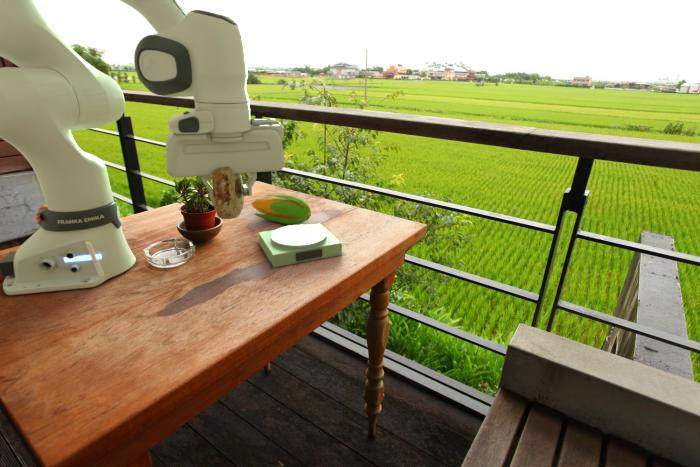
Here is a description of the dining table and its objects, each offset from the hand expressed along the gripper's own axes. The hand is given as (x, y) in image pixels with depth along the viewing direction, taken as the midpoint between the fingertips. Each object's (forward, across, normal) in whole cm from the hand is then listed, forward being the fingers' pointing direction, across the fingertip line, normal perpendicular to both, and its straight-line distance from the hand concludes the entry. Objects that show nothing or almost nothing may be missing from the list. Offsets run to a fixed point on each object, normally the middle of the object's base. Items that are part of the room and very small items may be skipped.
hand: (230, 197), depth 72 cm
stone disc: (+4, 0, 0) cm, 4 cm away
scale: (+17, -16, -9) cm, 25 cm away
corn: (+18, -17, -30) cm, 39 cm away
